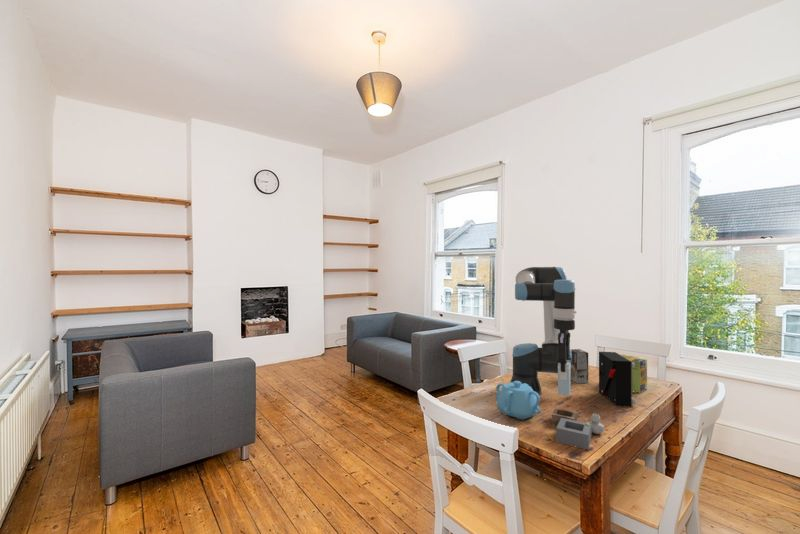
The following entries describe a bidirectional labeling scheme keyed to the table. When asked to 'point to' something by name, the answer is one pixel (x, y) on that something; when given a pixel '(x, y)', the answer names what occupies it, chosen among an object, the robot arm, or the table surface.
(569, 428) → the port
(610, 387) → the electrical component
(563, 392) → the plug
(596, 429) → the rubber duck
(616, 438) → the table surface
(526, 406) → the decorative pot
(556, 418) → the holster
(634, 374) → the protein box
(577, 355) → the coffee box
